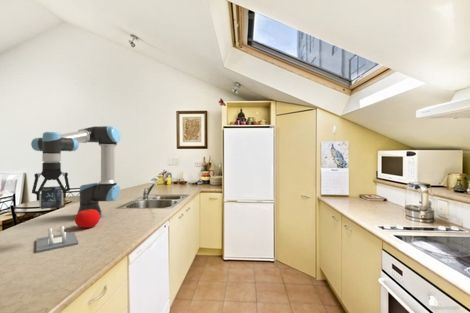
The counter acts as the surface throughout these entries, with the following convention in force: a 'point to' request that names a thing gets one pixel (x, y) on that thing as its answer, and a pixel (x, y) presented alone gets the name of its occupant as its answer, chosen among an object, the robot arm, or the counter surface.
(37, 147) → the robot arm
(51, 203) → the box
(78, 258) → the counter surface
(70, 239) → the grey stand base
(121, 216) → the counter surface
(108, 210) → the counter surface
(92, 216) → the tomato
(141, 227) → the counter surface
